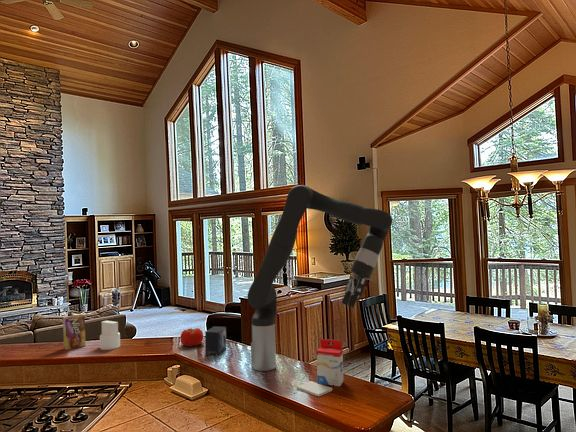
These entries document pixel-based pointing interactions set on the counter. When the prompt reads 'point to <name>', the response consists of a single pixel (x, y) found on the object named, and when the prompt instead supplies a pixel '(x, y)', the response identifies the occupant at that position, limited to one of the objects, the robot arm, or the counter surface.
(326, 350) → the ink box
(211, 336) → the small box
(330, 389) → the pad
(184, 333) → the tomato
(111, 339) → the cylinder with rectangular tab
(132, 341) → the counter surface
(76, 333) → the candy box
